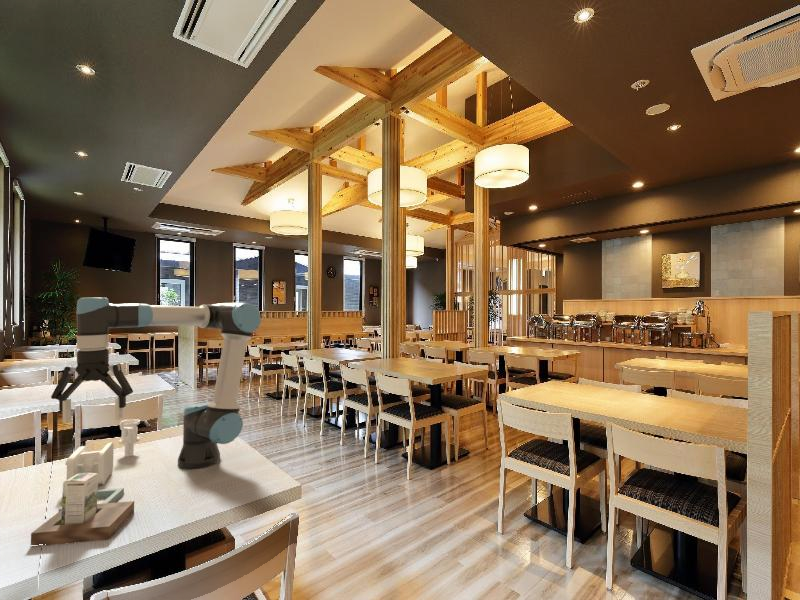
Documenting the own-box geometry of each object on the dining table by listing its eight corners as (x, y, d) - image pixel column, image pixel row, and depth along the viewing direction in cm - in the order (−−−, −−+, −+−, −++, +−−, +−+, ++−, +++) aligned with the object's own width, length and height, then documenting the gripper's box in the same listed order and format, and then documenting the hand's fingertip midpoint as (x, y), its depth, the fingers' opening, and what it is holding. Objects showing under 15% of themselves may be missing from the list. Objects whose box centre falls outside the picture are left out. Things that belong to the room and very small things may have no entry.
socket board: (134, 512, 119) (134, 501, 119) (109, 539, 105) (109, 526, 105) (65, 518, 115) (65, 506, 115) (30, 546, 101) (31, 533, 102)
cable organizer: (102, 488, 135) (103, 454, 135) (63, 494, 130) (64, 458, 131) (113, 471, 148) (114, 440, 149) (78, 476, 144) (79, 444, 144)
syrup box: (74, 524, 112) (76, 472, 113) (97, 523, 113) (98, 471, 113) (60, 535, 107) (61, 481, 107) (84, 534, 107) (85, 480, 108)
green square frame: (123, 493, 131) (124, 487, 131) (104, 512, 119) (104, 505, 119) (82, 496, 128) (83, 490, 128) (58, 516, 117) (58, 509, 117)
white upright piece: (114, 456, 163) (115, 420, 164) (132, 451, 170) (132, 416, 170) (126, 459, 161) (126, 422, 161) (143, 453, 167) (143, 417, 167)
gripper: (144, 346, 124) (145, 413, 124) (52, 349, 119) (52, 419, 119) (134, 349, 117) (134, 420, 117) (35, 352, 111) (35, 427, 111)
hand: (93, 420), depth 118 cm, fingers open, 13 cm apart
